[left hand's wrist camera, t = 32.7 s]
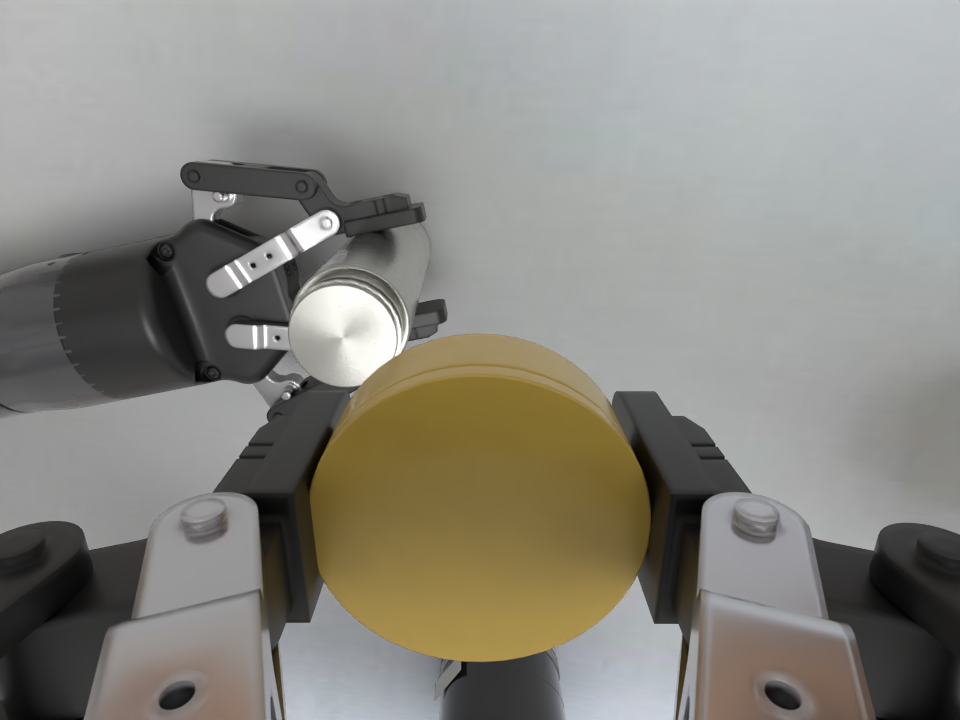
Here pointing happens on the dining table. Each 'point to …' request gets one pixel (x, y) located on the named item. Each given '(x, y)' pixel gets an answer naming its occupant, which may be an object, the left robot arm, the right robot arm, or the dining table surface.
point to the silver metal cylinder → (360, 305)
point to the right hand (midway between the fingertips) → (433, 261)
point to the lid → (479, 501)
